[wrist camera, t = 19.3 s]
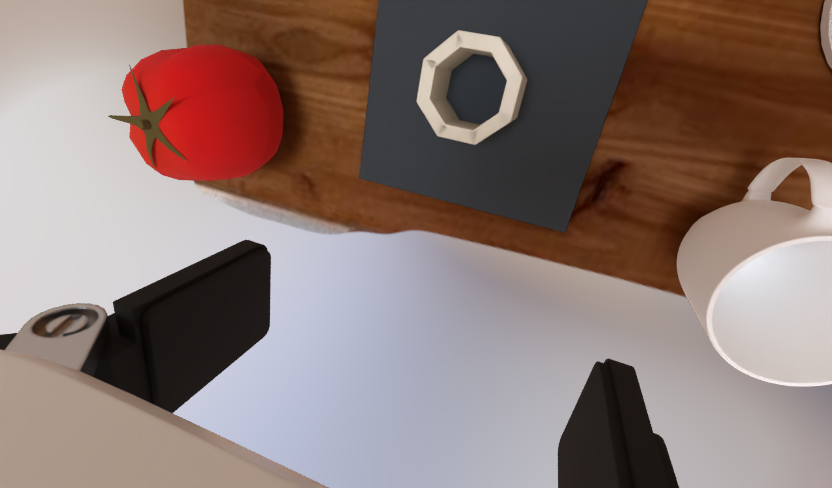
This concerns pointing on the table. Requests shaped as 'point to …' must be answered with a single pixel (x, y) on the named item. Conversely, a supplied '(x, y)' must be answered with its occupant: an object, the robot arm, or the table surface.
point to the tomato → (203, 112)
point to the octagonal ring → (438, 79)
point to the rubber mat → (498, 101)
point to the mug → (766, 278)
